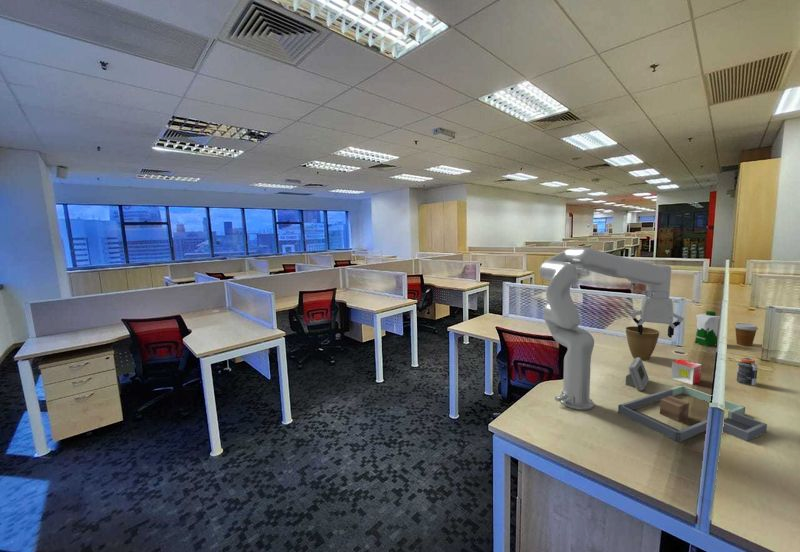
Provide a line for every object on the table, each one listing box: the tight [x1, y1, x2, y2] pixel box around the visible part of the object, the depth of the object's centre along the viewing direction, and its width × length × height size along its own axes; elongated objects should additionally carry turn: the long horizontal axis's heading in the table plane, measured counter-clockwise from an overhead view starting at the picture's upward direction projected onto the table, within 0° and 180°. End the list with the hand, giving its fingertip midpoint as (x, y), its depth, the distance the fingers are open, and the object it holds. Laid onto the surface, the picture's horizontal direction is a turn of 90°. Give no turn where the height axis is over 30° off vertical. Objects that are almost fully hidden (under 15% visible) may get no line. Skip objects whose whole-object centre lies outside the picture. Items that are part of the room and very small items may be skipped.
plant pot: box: [625, 325, 660, 361], centre depth 175 cm, size 15×15×16 cm
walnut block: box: [659, 396, 690, 423], centre depth 119 cm, size 6×6×6 cm
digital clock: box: [625, 357, 650, 392], centre depth 145 cm, size 16×9×11 cm, turn 123°
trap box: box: [617, 384, 768, 443], centre depth 117 cm, size 40×28×3 cm
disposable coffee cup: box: [734, 322, 759, 347], centre depth 189 cm, size 10×10×12 cm
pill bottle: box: [736, 357, 758, 386], centre depth 142 cm, size 6×6×11 cm
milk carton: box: [694, 310, 721, 347], centre depth 191 cm, size 9×9×20 cm
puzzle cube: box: [671, 358, 703, 386], centre depth 147 cm, size 8×8×8 cm
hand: (654, 335), depth 132 cm, fingers open, 9 cm apart
